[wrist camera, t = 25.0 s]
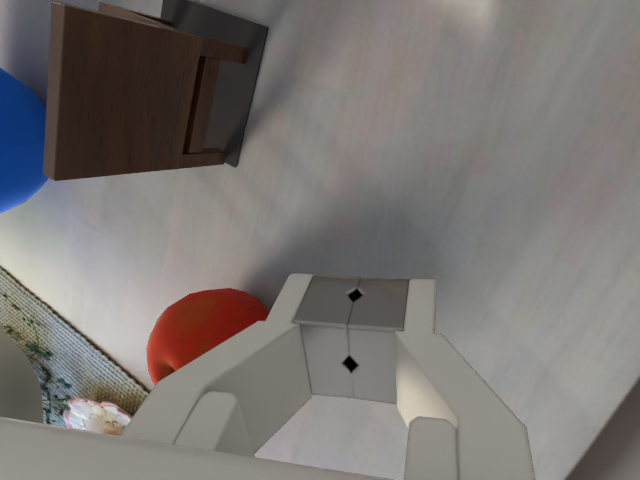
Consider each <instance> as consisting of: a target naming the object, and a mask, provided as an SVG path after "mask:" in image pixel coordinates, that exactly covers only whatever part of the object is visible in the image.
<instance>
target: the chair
mask: <svg viewBox="0 0 640 480" xmlns="http://www.w3.org/2000/svg"><path fill="white" fill-rule="evenodd" d="M248 51H249V49H247V48H244V47H241V46H238V45H234V44H230V43H226V42H222V41H218V40H214V39H209V38H205V37H201V36H197V35H193V34H190V33H187V32H184V31H181V30H179V29H176V28H174V26H173V22H171V21H169V20H166V19H163V18H159V17H155V16H151V15H147V14H144V13H140V12H136V11H132V10H129V9H125V8H121V7H117V6H113V5H110V4H106V3H102V2H99V10H98V11H94V10H90V9H86V8H82V7H78V6H74V5H70V4H66V3H62V2H57V1H52V9H51V28H50V47H49V66H48V85H47V104H46V123H45V142H44V161H43V174H44V175H45V176H47V177H48V178H50V179H52V180H53V181H60V180H70V179H80V178H90V177H100V176H110V175H120V174H130V173H140V172H150V171H160V170H172V169H179V168H180V169H181V168H191V167H201V166H211V165H221V164H224V161H225V159H226V152H225V151H223V150H221V149H219V148H217V147H216V148H204V143H205V138H206V133H207V128H208V122H209V117H210V112H211V107H212V102H213V97H214V92H215V87H216V82H217V77H218V71H219V66H220V61H221V60H226V61H231V62H236V63H241V64H246V60H247V58H248ZM220 59H221V60H220Z"/></svg>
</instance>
